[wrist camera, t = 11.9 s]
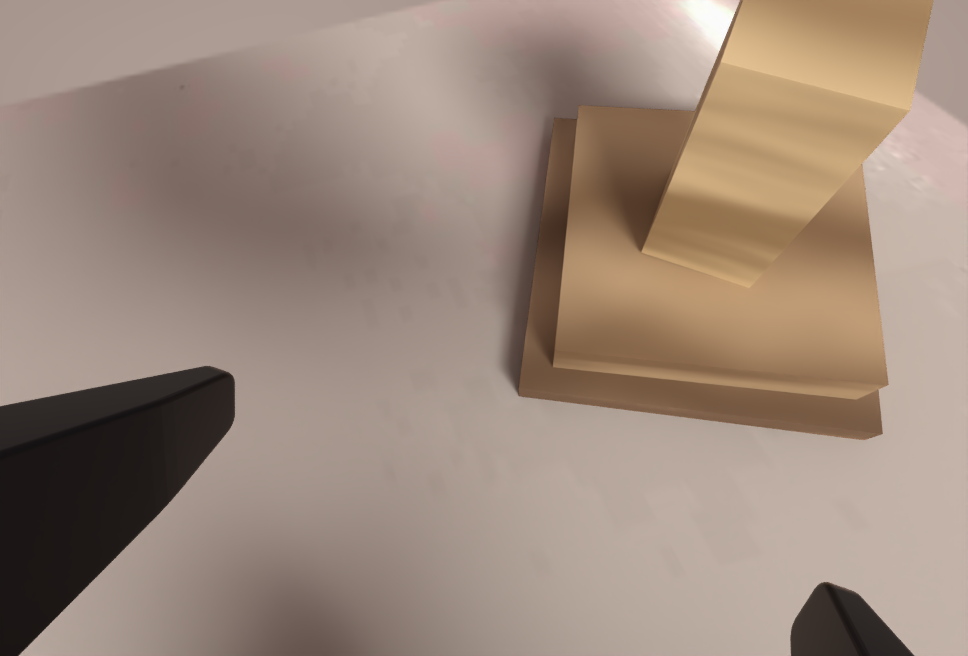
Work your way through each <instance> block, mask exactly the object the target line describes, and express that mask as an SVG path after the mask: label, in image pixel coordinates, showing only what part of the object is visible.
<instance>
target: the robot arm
mask: <svg viewBox="0 0 968 656" xmlns="http://www.w3.org/2000/svg"><path fill="white" fill-rule="evenodd" d="M234 417H235V381H234V378H233V376H232V375H231V374H230V373H229V372H226V371H223V370H221V369H218V368H215V367H211V366H204V367H199V368H193V369H188V370H183V371H178V372H173V373H168V374H163V375H158V376H153V377H147V378H142V379H137V380H132V381H127V382H122V383H117V384H112V385H107V386H101V387H96V388H91V389H86V390H81V391H76V392H71V393H66V394H61V395H55V396H50V397H45V398H40V399H35V400H30V401H25V402H20V403H15V404H9V405H4V406H0V656H19V655H20V654H21V653H22V652H23V651H24V650H25V649H26V648H27V647H28V646H29V645H30V644H31V643H32V642H33V641H34V640H35V638H36V637H37V636H38V635H39V634H40V633H41V632H42V631H43V630H44V629H45V628H46V627H47V626H48V625H49V624H50V623H51V622H52V621H53V620H54V619H55V618H56V617H57V616H58V615H59V614H60V613H61V612H62V611H63V610H64V609H65V608H66V607H67V606H68V605H69V604H70V603H71V602H72V601H73V600H74V599H75V598H76V597H77V596H78V595H79V594H80V593H81V592H82V591H83V590H84V589H85V588H86V587H87V586H88V585H89V584H90V583H91V582H92V581H93V580H94V579H95V578H96V577H97V576H98V575H99V574H100V573H101V572H102V571H103V570H104V569H105V568H106V567H107V566H108V565H109V564H110V563H111V562H112V561H113V560H114V559H115V558H116V557H117V556H118V555H119V554H120V553H121V552H122V551H123V550H124V549H125V548H126V547H127V546H128V545H129V544H130V543H131V542H132V541H133V540H134V539H135V538H136V537H137V536H138V535H139V534H140V533H141V531H142V530H143V529H144V528H145V527H146V526H147V525H148V524H149V523H150V522H151V521H152V520H153V519H154V518H155V517H156V516H157V515H158V514H159V513H160V512H161V511H162V510H163V509H164V508H165V507H166V506H167V505H168V504H169V502H170V501H171V500H172V499H173V498H174V497H175V496H176V494H177V493H178V492H179V491H180V490H181V489H182V487H183V486H184V485H185V484H186V482H187V481H188V480H189V479H190V477H191V476H192V475H193V474H194V473H195V471H196V470H197V469H198V468H199V466H200V465H201V464H202V463H203V462H204V460H205V459H206V458H207V457H208V455H209V454H210V453H211V452H212V450H213V449H214V448H215V447H216V446H217V444H218V443H219V442H220V441H221V439H222V438H223V437H224V436H225V435H226V433H227V432H228V431H229V429H230V428H231V426H232V424H233V421H234ZM790 641H791V656H914V655H913V654H912V652H911V651H910V650H909V649H908V648H907V647H906V646H905V645H904V644H903V643H902V641H901V640H900V639H899V638H898V637H897V636H896V635H895V634H894V633H893V631H892V630H891V629H890V628H889V627H888V626H887V625H886V624H885V623H884V622H883V620H882V619H881V618H880V617H879V616H878V615H877V614H876V613H875V612H874V610H873V609H872V608H871V607H870V606H869V605H868V604H867V603H866V602H865V601H864V599H863V598H862V597H861V596H860V595H859V594H857V593H856V592H854V591H852V590H849V589H846V588H843V587H840V586H837V585H834V584H832V583H829V582H823V583H820V584H819V585H818V586H817V587H816V588H815V589H814V591H813V592H812V594H811V595H810V597H809V598H808V600H807V602H806V603H805V605H804V606H803V608H802V609H801V611H800V612H799V614H798V615H797V617H796V619H795V620H794V623H793V625H792V629H791V637H790Z"/></svg>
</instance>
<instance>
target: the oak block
mask: <svg viewBox="0 0 968 656" xmlns="http://www.w3.org/2000/svg"><path fill="white" fill-rule="evenodd" d="M932 5H933V0H740V2H739V5H738V7H737V9H736V12H735V14H734V17H733V19H732V22H731V24H730V27H729V29H728V32H727V34H726V37H725V39H724V41H723V44H722V46H721V49H720V51H719V54H718V56H717V59H716V61H715V64H714V66H713V69H712V71H711V73H710V76H709V78H708V81H707V83H706V86H705V88H704V91H703V93H702V96H701V98H700V100H699V103H698V105H697V108H696V110H695V113H694V115H693V118H692V120H691V123H690V125H689V128H688V130H687V132H686V135H685V137H684V140H683V142H682V145H681V147H680V150H679V152H678V155H677V157H676V160H675V162H674V164H673V167H672V170H671V172H670V175H669V178H668V180H667V183H666V186H665V189H664V191H663V194H662V197H661V200H660V202H659V205H658V208H657V211H656V213H655V216H654V219H653V221H652V224H651V227H650V230H649V232H648V235H647V238H646V241H645V243H644V246H643V249H642V252H641V253H644V254H647V255H650V256H653V257H656V258H659V259H662V260H665V261H668V262H671V263H674V264H678V265H681V266H684V267H687V268H690V269H693V270H696V271H699V272H702V273H705V274H708V275H711V276H714V277H717V278H720V279H723V280H726V281H729V282H732V283H735V284H738V285H741V286H745V287H748V288H750V287H751V286H752V285H753V284H754V282H755V281H756V280H757V279H758V278H759V277H760V276H761V275H762V274H763V273H764V271H765V270H766V269H767V268H768V267H769V266H770V265H771V264H772V263H773V261H774V260H775V259H776V258H777V257H778V256H779V255H780V254H781V253H782V252H783V250H784V249H785V248H786V247H787V246H788V245H789V244H790V243H791V242H792V240H793V239H794V238H795V237H796V236H797V235H798V234H799V233H800V232H801V231H802V229H803V228H804V227H805V226H806V225H807V224H808V223H809V222H810V221H811V219H812V218H813V217H814V216H815V215H816V214H817V213H818V212H819V211H820V210H821V208H822V207H823V206H824V205H825V204H826V203H827V202H828V201H829V200H830V198H831V197H832V196H833V195H834V194H835V193H836V192H837V191H838V190H839V189H840V187H841V186H842V185H843V184H844V183H845V182H846V181H847V180H848V179H849V177H850V176H851V175H852V174H853V173H854V172H855V171H856V170H857V169H858V168H859V166H860V165H861V164H862V163H863V162H864V161H865V160H866V159H867V158H868V156H869V155H870V154H871V153H872V152H873V151H874V150H875V149H876V148H877V147H878V145H879V144H880V143H881V142H882V141H883V140H884V139H885V138H886V137H887V135H888V134H889V133H890V132H891V131H892V130H893V129H894V128H895V127H896V125H897V124H898V123H899V122H900V121H901V120H902V119H903V118H904V117H905V116H906V114H907V113H908V112H909V111H910V108H911V104H912V99H913V94H914V89H915V85H916V80H917V75H918V71H919V66H920V61H921V57H922V51H923V47H924V42H925V38H926V33H927V28H928V24H929V19H930V14H931V10H932Z"/></svg>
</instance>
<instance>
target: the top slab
mask: <svg viewBox="0 0 968 656" xmlns="http://www.w3.org/2000/svg"><path fill="white" fill-rule="evenodd" d="M694 113H695V111H681V110H661V109H642V108H622V107H603V106H583V105H579V108H578V118H577V127H576V136H575V147H574V157H573V167H572V177H571V187H570V197H569V208H568V218H567V228H566V238H565V248H564V258H563V269H562V279H561V289H560V299H559V309H558V319H557V330H556V340H555V350H554V360H553V367H556V368H566V369H575V370H584V371H593V372H603V373H612V374H621V375H631V376H640V377H649V378H659V379H668V380H677V381H687V382H696V383H705V384H715V385H724V386H733V387H743V388H752V389H761V390H771V391H780V392H789V393H799V394H808V395H817V396H827V397H836V398H845V399H855V400H857V399H859V398H861V397H863V396H865V395H868V394H870V393H872V392H874V391H876V390H878V389H880V388H883V387H885V386H887V385H888V376H887V368H886V359H885V351H884V343H883V334H882V326H881V318H880V309H879V301H878V292H877V284H876V276H875V267H874V259H873V250H872V242H871V234H870V225H869V217H868V209H867V200H866V192H865V183H864V175H863V167H862V164H861V165H860V166H859V168H858V169H857V170H856V171H855V172H854V173H853V174H852V175H851V176H850V177H849V179H848V180H847V181H846V182H845V183H844V184H843V185H842V186H841V187H840V189H839V190H838V191H837V192H836V193H835V194H834V195H833V196H832V197H831V198H830V200H829V201H828V202H827V203H826V204H825V205H824V206H823V207H822V208H821V210H820V211H819V212H818V213H817V214H816V215H815V216H814V217H813V218H812V219H811V221H810V222H809V223H808V224H807V225H806V226H805V227H804V228H803V229H802V231H801V232H800V233H799V234H798V235H797V236H796V237H795V238H794V239H793V240H792V242H791V243H790V244H789V245H788V246H787V247H786V248H785V249H784V250H783V252H782V253H781V254H780V255H779V256H778V257H777V258H776V259H775V260H774V261H773V263H772V264H771V265H770V266H769V267H768V268H767V269H766V270H765V271H764V273H763V274H762V275H761V276H760V277H759V278H758V279H757V280H756V281H755V282H754V284H753V285H752V286H751V287H750V288H748V287H745V286H741V285H738V284H735V283H732V282H729V281H726V280H723V279H720V278H717V277H714V276H711V275H708V274H705V273H702V272H699V271H696V270H693V269H690V268H687V267H684V266H681V265H678V264H674V263H671V262H668V261H665V260H662V259H659V258H656V257H653V256H650V255H647V254H644V253H641V252H642V249H643V246H644V243H645V241H646V238H647V235H648V232H649V230H650V227H651V224H652V221H653V219H654V216H655V213H656V211H657V208H658V205H659V202H660V200H661V197H662V194H663V191H664V189H665V186H666V183H667V180H668V178H669V175H670V172H671V170H672V167H673V164H674V162H675V160H676V157H677V155H678V152H679V150H680V147H681V145H682V142H683V140H684V137H685V135H686V132H687V130H688V128H689V125H690V123H691V120H692V118H693V115H694Z"/></svg>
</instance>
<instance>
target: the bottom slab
mask: <svg viewBox="0 0 968 656" xmlns="http://www.w3.org/2000/svg"><path fill="white" fill-rule="evenodd" d="M576 127H577V119H563V118H554V124H553V132H552V139H551V147H550V154H549V162H548V170H547V177H546V185H545V192H544V200H543V207H542V215H541V222H540V230H539V238H538V245H537V253H536V260H535V268H534V275H533V283H532V291H531V298H530V306H529V313H528V321H527V328H526V336H525V343H524V351H523V359H522V366H521V374H520V381H519V396H522V397H530V398H538V399H545V400H553V401H561V402H569V403H577V404H585V405H592V406H600V407H608V408H616V409H624V410H632V411H640V412H647V413H655V414H663V415H671V416H679V417H687V418H694V419H702V420H710V421H718V422H726V423H734V424H741V425H749V426H757V427H765V428H773V429H781V430H789V431H796V432H804V433H812V434H820V435H828V436H836V437H843V438H851V439H859V440H866V439H869V438H872V437H875V436H878V435H881V434H883V433H882V422H881V412H880V402H879V391H878V390H876V391H874V392H872V393H870V394H868V395H865V396H863V397H861V398H859V399H857V400H855V399H845V398H836V397H827V396H817V395H808V394H799V393H789V392H780V391H771V390H761V389H752V388H743V387H733V386H724V385H715V384H705V383H696V382H687V381H677V380H668V379H659V378H649V377H640V376H631V375H621V374H612V373H603V372H593V371H584V370H575V369H566V368H556V367H553V360H554V350H555V340H556V330H557V319H558V309H559V299H560V289H561V279H562V269H563V258H564V248H565V238H566V228H567V218H568V208H569V197H570V187H571V177H572V167H573V157H574V147H575V136H576Z"/></svg>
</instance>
